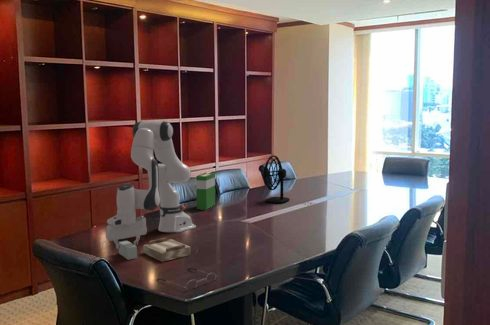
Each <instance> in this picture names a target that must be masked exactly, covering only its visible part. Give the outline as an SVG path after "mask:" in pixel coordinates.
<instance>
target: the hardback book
mask: <svg viewBox="0 0 490 325" xmlns="http://www.w3.org/2000/svg"><path fill="white" fill-rule="evenodd" d="M195 178H196V183H195V184H196V187H195V188H196V190H195V191H196V210H197V209H203V210H202V211H208V210H209V209H208V208H210V207H211V208H213V207H214V206H213V205H215V206H216V172H212V173H207V172H204V173H200V174H198V175H196V176H195ZM212 206H213V207H212ZM211 208H210V209H211ZM207 209H208V210H207Z"/></svg>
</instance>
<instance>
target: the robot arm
mask: <svg viewBox="0 0 490 325" xmlns="http://www.w3.org/2000/svg"><path fill="white" fill-rule="evenodd" d="M131 132H132V136H133V141H132V143H131V145H132V146H131V151H130V158H131V160H132V162H133V163H134V164H135V165H137V166H138V167H141V168H143V169H144V170H146V171H147V176H148V189H136V188H134V187H135V186H134V185H132V184H122V185H120V186H118V187H117V191H116V208H117V210H116V214H115V215H114V216H112V217H110V218H108V219H107V221H106V222H107V226H106V228H105V238H106V240H108V241H110V242H112V241H113V243H114V244H115V248H116V249H117V250H119V248H120V244H119V240H123V239H128V238H133V237H135V240H134V241H133V244H134V245H135V246H137V245H139V241H140V239H141V236H143V235H144V236H145V235H147V232H148V228H147V218H146V217H145V216H144V215H140V216H137V214H136V213H137V212H136V210H146V211H154V210H156V209H157V208H158V207H159V216H160V218H159V224H158V228H157V230H158V231H159V232H162V233H182V232H185V231H189V230H192V229H196V228H197V225H196V224H194V223H193V221H192V218H191V216H190V215H188V214H187V213H186V212H184V211H183V210H185V209H186V206H185V205H181V204H180V193H179V191H178V190H177V189H175V188H174V187H173V186H172V185H171V184H181V183H182V184H183V183H187V182H188V181H189V180H190V179H191V174H192V173H191V169H190V167H189V166H188V165H187V164H185V163H183V162H182V161H181V160H180V159H179V158H178V155H177V154H176V152H175V151H176V150H175V147H174V143H173V139H172V138H173V135H174V128H173V125H172V124H171V123H170V122H169V121H161V120H160V121H159V120H149V121H148V120H147V121H138V122H135V123H134V124H133V126H132V131H131ZM154 155H155V156H154ZM155 158H156V159H155ZM158 161H159V162H160V163H158Z"/></svg>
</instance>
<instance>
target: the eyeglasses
mask: <svg viewBox="0 0 490 325" xmlns="http://www.w3.org/2000/svg"><path fill="white" fill-rule="evenodd" d="M190 270H195V271H198V272H200V270H199V269H196V268H192V267H190V268H187V271H190ZM201 272H202V273H205V274H207V275H206V276H205V278H202V279H199V280H195V282H196V283H195V284H196V285H195V286H194V288H195V289H196V288H197V286H198V283H200V282H202V281H205V282H206V283H207V284H208V283H209V282H208V280H207V279H208V276H210V275H212V276H214V279H213V281H216V278H217V277H218V275H217V273H215V272H213V273H212V272H210V273H209V272H206V271H203V270H201ZM156 281H163V282H168V283H171V284H174V285H177V286H180V287H183V288H184V289H186V290H187V291H189V289H188V285H189V283H191V282H192V281H193V279H191V280H189V281H187V283H186V285H185V286H183V285H179V284H177V283H174V282H171V281H168V280H166V279H163V278H157V279H156Z"/></svg>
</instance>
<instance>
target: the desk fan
mask: <svg viewBox="0 0 490 325" xmlns="http://www.w3.org/2000/svg"><path fill="white" fill-rule="evenodd" d="M273 163H274V164H275V165H274V167H273ZM264 164H265V165H264V168H263V173H262V177H263V181H264V184H265V186H266V188H267V189H268V191H269V190H270V191H276V190H277V188H278V187H279V186H280V187H279V188H280V190H279V191H280V193H279V196H271V197H268V198H266V199H265V200H264V201H265V203H268V202H269V203H270V204H283V203H286V202H289V201H290V200H291V199H290V198H289V197H284V179H286V177H287V170H286V169H285V168H283V166H282V162H281V161H280V158H279V157H278V156H277V155H274V154H273V155H270V156H269V158H268V159H267V160H266V162H265V163H264ZM268 165H269V167H268ZM271 169H272V170H271ZM270 173H271V174H270ZM277 177H278V180H277ZM272 180H273V182H271V181H272ZM275 184H276V185H275ZM274 185H275V186H274Z"/></svg>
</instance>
